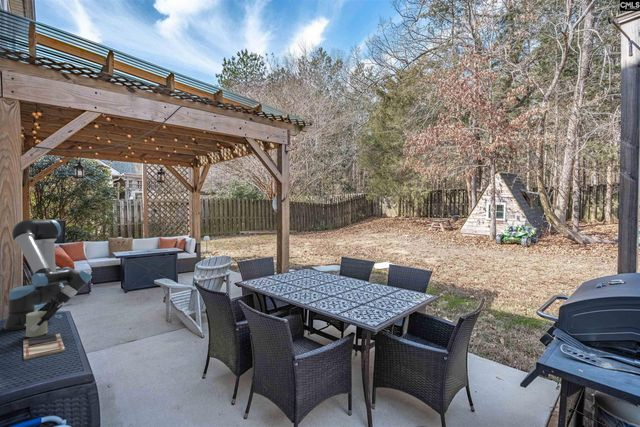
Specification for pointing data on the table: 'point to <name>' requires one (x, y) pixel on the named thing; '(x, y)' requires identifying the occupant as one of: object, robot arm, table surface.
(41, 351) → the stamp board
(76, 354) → the table surface
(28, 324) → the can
